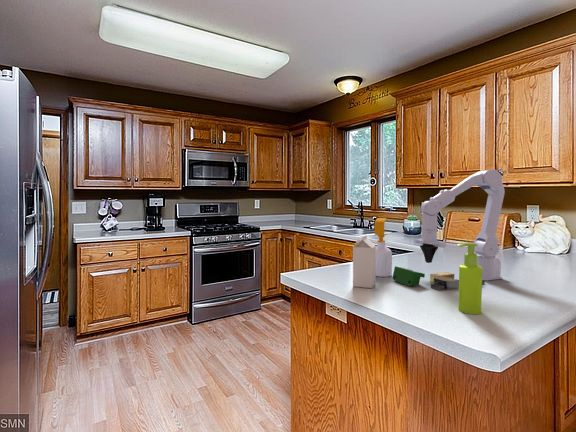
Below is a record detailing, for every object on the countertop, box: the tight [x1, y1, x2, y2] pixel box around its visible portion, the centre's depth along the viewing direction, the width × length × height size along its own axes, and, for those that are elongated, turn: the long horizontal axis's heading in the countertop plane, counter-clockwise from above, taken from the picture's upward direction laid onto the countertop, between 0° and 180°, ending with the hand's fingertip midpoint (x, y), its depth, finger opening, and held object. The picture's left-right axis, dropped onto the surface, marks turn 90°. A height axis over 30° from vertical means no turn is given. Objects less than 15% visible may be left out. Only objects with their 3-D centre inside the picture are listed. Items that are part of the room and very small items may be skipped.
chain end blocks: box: [430, 278, 486, 291], centre depth 127 cm, size 23×6×3 cm, turn 112°
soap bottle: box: [374, 217, 393, 278], centre depth 144 cm, size 9×9×25 cm
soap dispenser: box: [456, 242, 483, 315], centre depth 98 cm, size 6×7×20 cm
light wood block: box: [429, 271, 455, 283], centre depth 133 cm, size 9×4×3 cm, turn 112°
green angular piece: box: [392, 266, 426, 288], centre depth 131 cm, size 12×6×9 cm, turn 15°
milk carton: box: [352, 234, 377, 289], centre depth 127 cm, size 7×7×19 cm
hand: (428, 262), depth 139 cm, fingers closed
